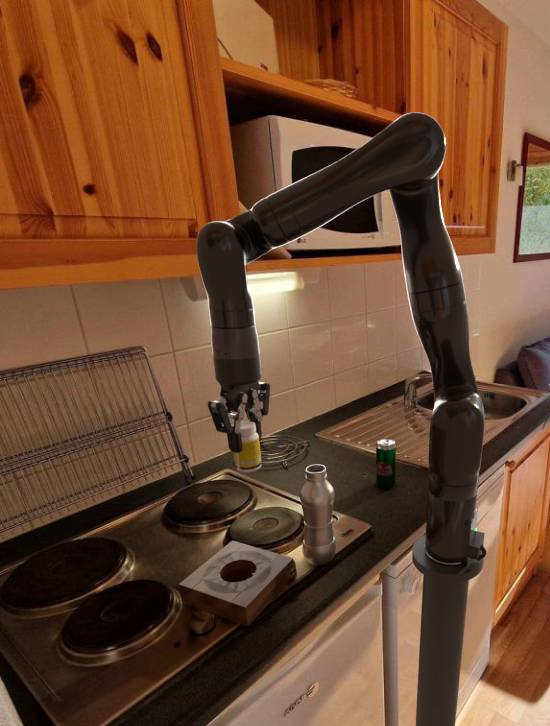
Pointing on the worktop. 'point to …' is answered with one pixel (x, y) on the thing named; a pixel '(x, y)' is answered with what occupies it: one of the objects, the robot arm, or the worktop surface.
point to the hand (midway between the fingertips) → (246, 445)
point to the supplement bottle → (248, 449)
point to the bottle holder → (237, 598)
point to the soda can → (386, 463)
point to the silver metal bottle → (317, 516)
